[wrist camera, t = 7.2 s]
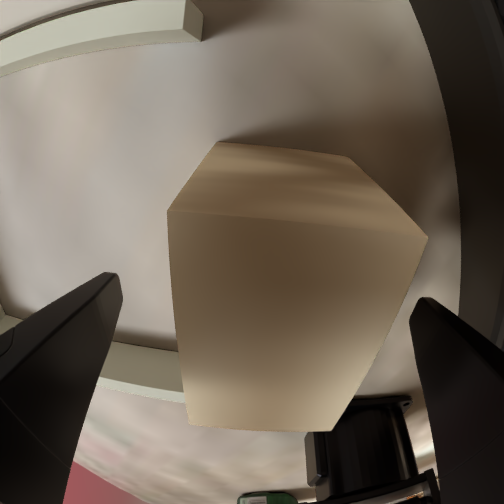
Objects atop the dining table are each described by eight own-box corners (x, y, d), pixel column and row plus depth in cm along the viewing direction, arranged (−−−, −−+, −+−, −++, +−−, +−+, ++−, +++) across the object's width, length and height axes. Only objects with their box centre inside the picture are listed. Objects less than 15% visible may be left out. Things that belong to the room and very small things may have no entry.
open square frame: (203, 14, 7) (186, -5, 5) (198, 366, 16) (191, 404, 14) (-55, 83, 7) (-87, 93, 5) (2, 322, 15) (-16, 346, 13)
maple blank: (347, 156, 10) (428, 237, 5) (312, 311, 14) (331, 430, 8) (216, 141, 10) (167, 210, 5) (211, 303, 13) (189, 424, 8)
